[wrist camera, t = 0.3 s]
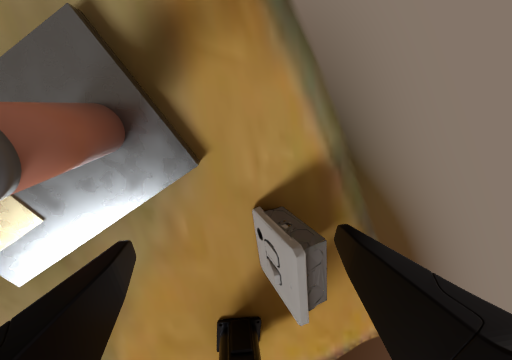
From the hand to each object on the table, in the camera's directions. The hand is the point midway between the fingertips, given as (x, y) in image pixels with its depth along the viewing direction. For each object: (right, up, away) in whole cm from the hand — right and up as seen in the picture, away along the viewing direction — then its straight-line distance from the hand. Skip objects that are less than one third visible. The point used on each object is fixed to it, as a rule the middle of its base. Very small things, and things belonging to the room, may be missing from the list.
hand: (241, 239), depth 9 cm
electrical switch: (+3, -4, +17) cm, 18 cm away
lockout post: (-13, +7, +9) cm, 18 cm away
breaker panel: (-19, +4, +11) cm, 23 cm away
